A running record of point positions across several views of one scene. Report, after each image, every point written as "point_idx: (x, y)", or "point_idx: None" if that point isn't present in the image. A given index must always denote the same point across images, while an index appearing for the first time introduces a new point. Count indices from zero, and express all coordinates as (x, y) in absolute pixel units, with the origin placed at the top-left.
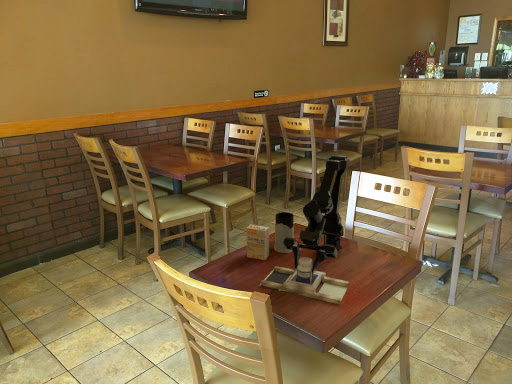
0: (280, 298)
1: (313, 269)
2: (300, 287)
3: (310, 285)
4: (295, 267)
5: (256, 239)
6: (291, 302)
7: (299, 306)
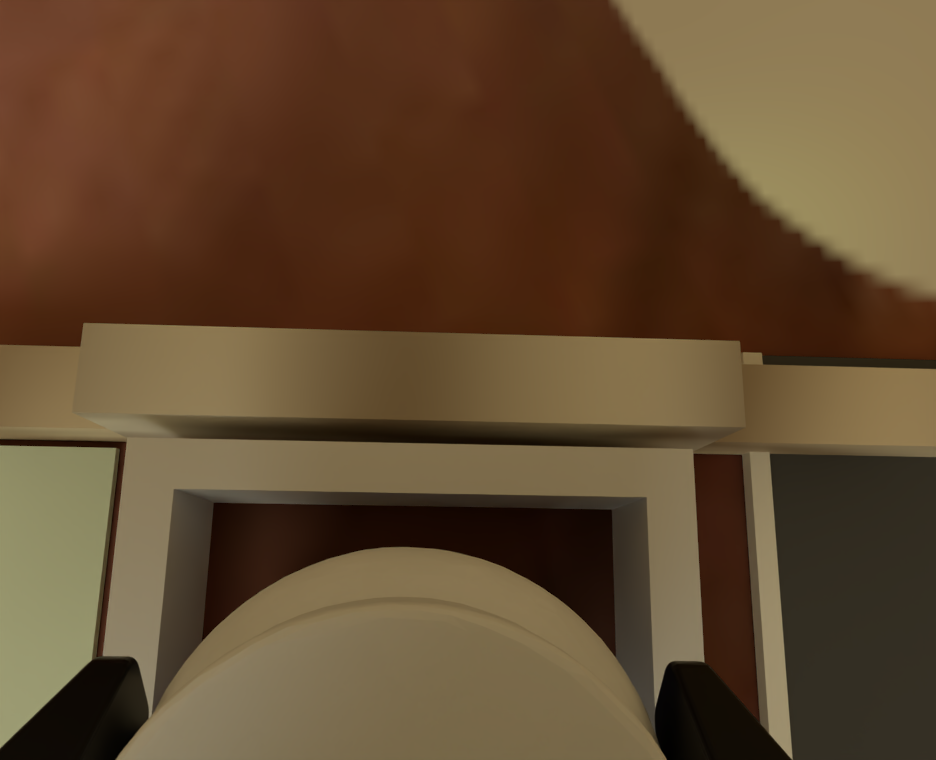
0: (633, 175)
1: (44, 706)
2: (377, 333)
3: (197, 461)
4: (689, 670)
5: None
6: (445, 140)
7: (303, 92)
